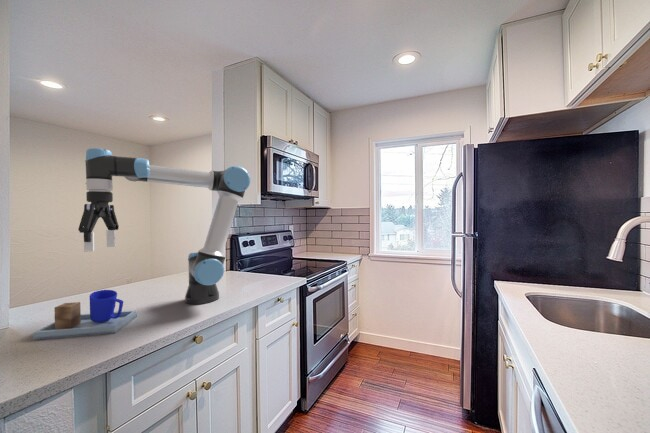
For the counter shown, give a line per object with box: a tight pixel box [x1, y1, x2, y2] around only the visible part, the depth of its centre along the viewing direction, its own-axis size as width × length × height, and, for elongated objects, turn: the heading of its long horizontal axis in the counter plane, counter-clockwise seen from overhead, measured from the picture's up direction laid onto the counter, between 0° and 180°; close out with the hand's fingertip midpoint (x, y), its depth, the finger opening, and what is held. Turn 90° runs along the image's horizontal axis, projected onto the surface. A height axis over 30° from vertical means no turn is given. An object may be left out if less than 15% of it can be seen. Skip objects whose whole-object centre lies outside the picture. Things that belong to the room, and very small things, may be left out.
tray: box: [32, 310, 138, 341], centre depth 102 cm, size 24×16×2 cm, turn 101°
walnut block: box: [54, 301, 82, 330], centre depth 101 cm, size 5×5×8 cm
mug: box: [89, 289, 124, 322], centre depth 106 cm, size 8×12×10 cm
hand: (100, 249), depth 103 cm, fingers open, 13 cm apart
